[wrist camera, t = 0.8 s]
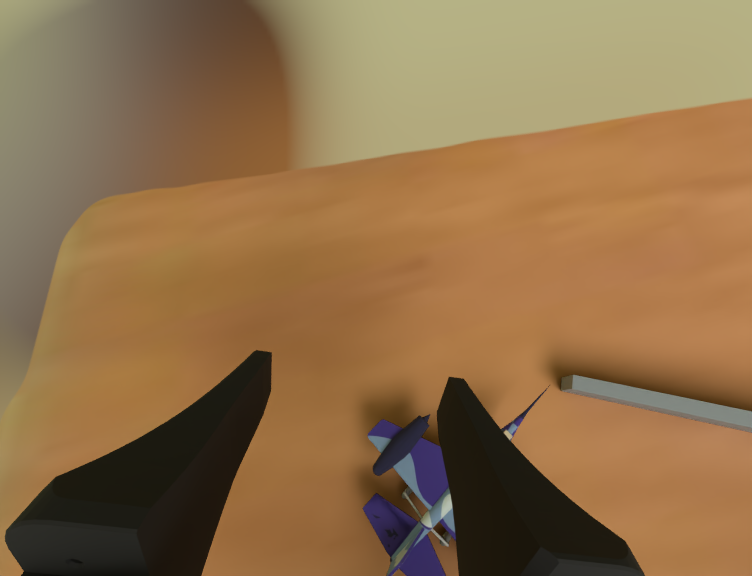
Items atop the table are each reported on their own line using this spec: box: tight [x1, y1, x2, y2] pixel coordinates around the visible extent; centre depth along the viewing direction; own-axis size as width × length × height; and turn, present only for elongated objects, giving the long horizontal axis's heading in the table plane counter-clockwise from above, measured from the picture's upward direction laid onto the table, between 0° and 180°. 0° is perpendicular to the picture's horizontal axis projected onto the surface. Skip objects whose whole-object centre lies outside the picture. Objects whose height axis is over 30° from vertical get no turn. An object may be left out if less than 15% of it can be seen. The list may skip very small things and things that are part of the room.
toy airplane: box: [363, 384, 551, 576], centre depth 24 cm, size 13×14×4 cm
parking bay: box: [561, 375, 752, 433], centre depth 20 cm, size 18×18×2 cm
